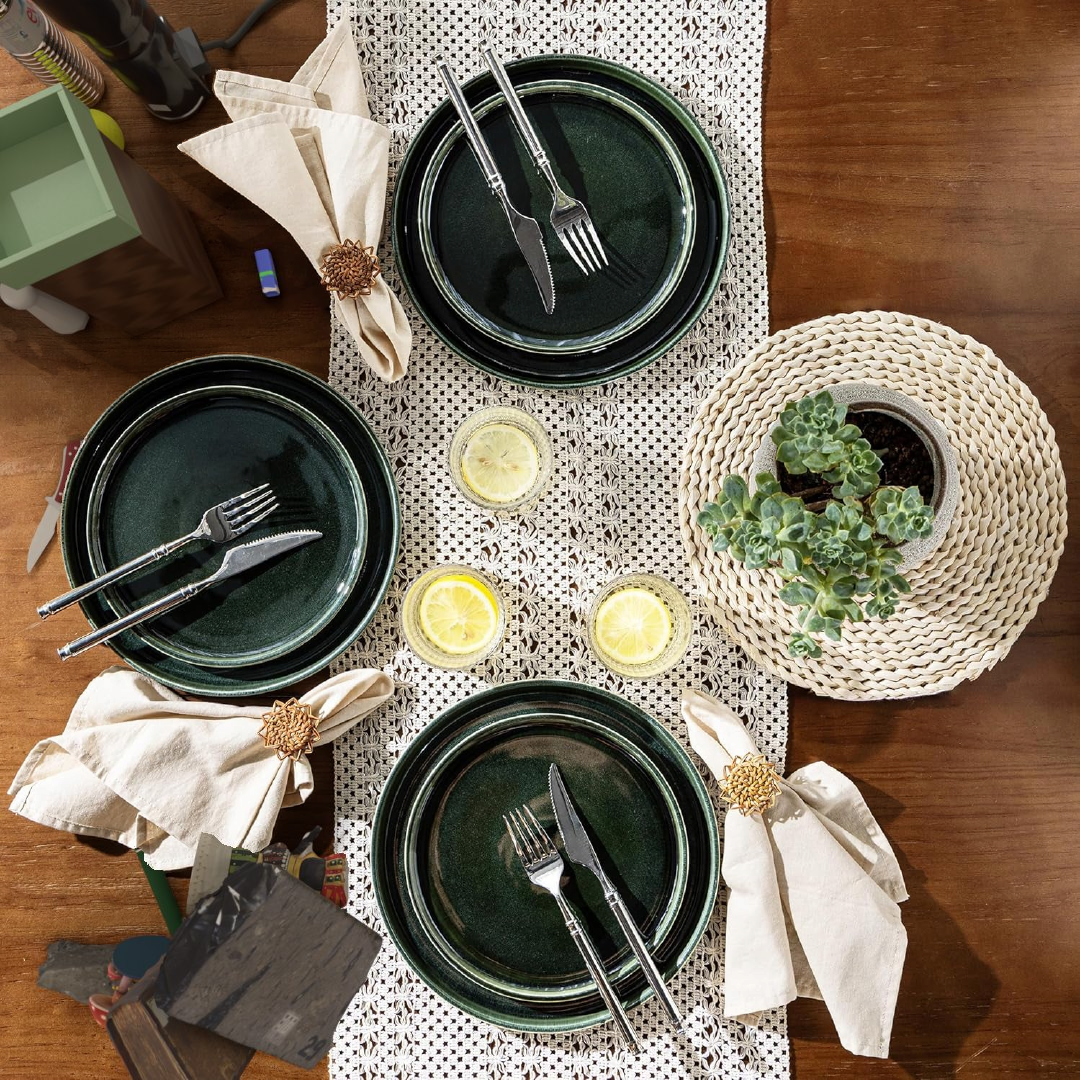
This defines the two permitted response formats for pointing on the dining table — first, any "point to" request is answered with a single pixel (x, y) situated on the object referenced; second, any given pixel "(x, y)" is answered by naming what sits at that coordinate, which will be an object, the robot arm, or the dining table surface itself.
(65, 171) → the open bin
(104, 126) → the ornament
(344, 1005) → the stone slab
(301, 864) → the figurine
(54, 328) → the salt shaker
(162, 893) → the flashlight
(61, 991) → the stone
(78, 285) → the bin stand
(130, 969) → the figurine
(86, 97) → the water bottle
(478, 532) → the dining table surface
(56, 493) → the knife
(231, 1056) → the book
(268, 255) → the eraser
